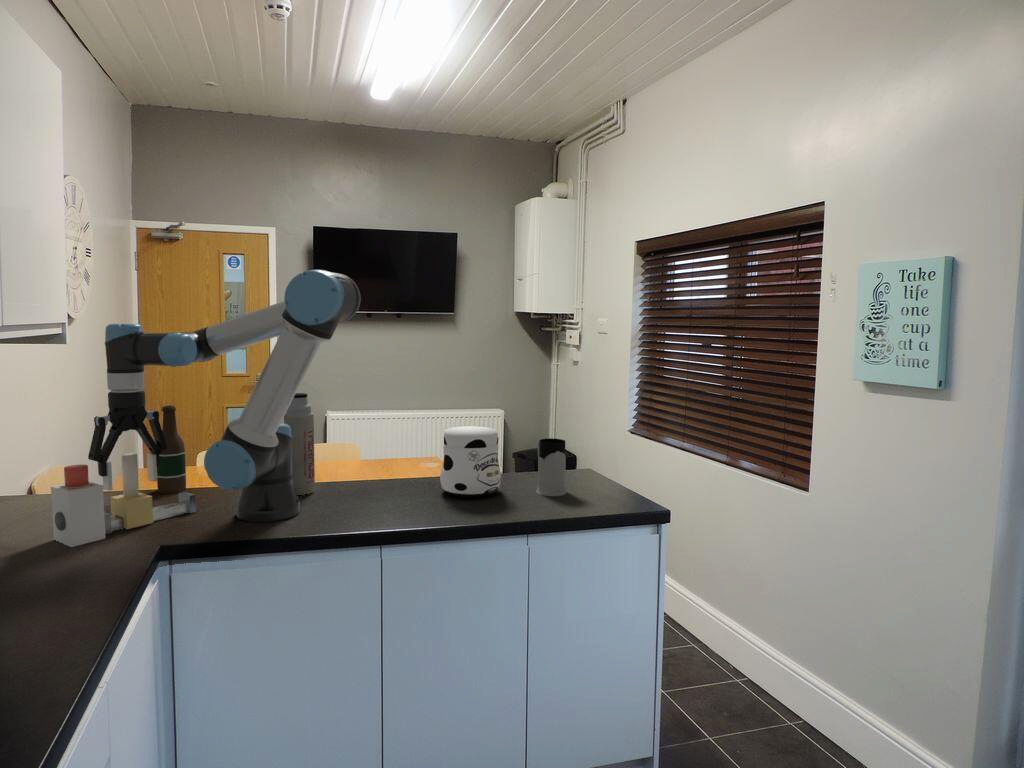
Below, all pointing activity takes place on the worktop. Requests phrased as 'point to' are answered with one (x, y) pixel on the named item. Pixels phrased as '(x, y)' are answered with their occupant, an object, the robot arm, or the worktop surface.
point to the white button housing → (78, 514)
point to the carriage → (132, 497)
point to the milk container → (470, 461)
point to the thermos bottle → (302, 443)
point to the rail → (157, 511)
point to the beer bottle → (171, 457)
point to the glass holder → (551, 467)
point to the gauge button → (76, 475)
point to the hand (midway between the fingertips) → (130, 484)
